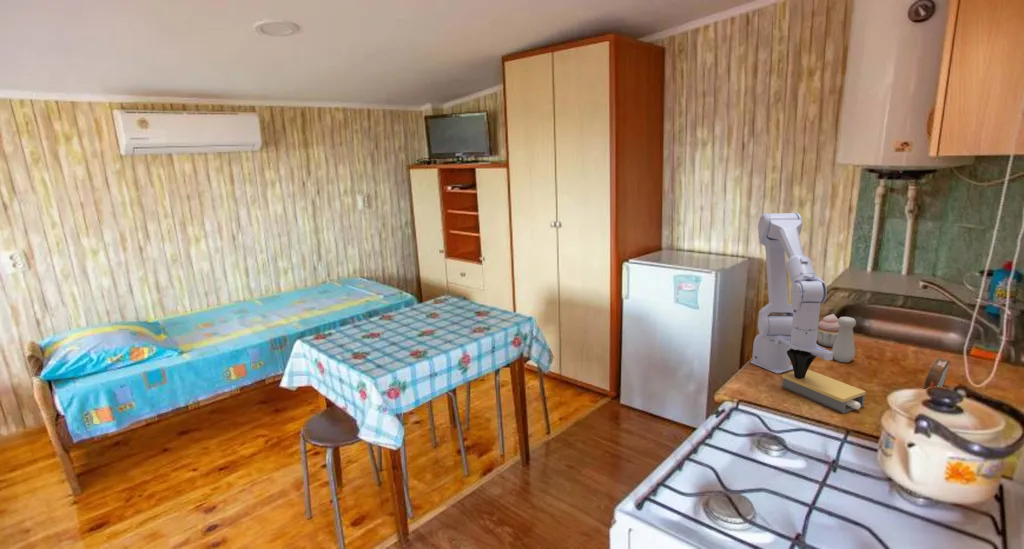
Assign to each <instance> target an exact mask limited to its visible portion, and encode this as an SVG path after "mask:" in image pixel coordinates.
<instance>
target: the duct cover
mask: <svg viewBox="0 0 1024 549" xmlns="http://www.w3.org/2000/svg"><path fill="white" fill-rule="evenodd" d="M783 378H785V379H787V380H790V381H792V382H794V383H797V384H799V385H802V386H804V387H807V388H809V389H811V390H814V391H816V392H819V393H821V394H823V395H826V396H828V397H831V398H833V399H836V400H838V401H840V402H846V401H849V400H852V399H854V398H857V397H860V396H862V395H865V396H866V393H867V392H866V391H865V390H863V389H860V388H858V387H855V386H854V385H853V386H852V385H850V384H848V383H845V382H842V381H839V380H837V379H835V378H831V377H829V376H826V375H824V374H821V373H819V372H815V371H813V370H811V369H808V370H807V372H806V375H805V378H802V379H798V378H795V376H794V370H791V371H789V372H786V373H783V374H782V379H783Z"/></svg>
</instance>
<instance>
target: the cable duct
mask: <svg viewBox="0 0 1024 549" xmlns="http://www.w3.org/2000/svg"><path fill="white" fill-rule="evenodd" d="M781 385H782V386H781V388H782V389H785V390H786V391H789V392H791V393H793V392H794V393H793V394H795V395H798V396H800V395H801V396H800V397H803V396H804V397H803V398H805V397H806V398H805V399H807V398H808V400H810V401H813V402H815V403H817V404H819V405H822V406H824V407H826V408H827V409H830V410H833V411H834V412H838V413H839V414H846V413H848V412H851V411H854V410H860V408H862V407H864V406H865V398H866V394H865V395H862V396H860V397H857V398H854V399H852V400H849V401H846V402H840V401H838V400H836V399H833V398H831V397H828V396H826V395H823V394H821V393H819V392H816V391H814V390H811V389H809V388H807V387H804V386H802V385H799V384H797V383H794V382H792V381H790V380H787V379H785V378H782V384H781Z"/></svg>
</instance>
